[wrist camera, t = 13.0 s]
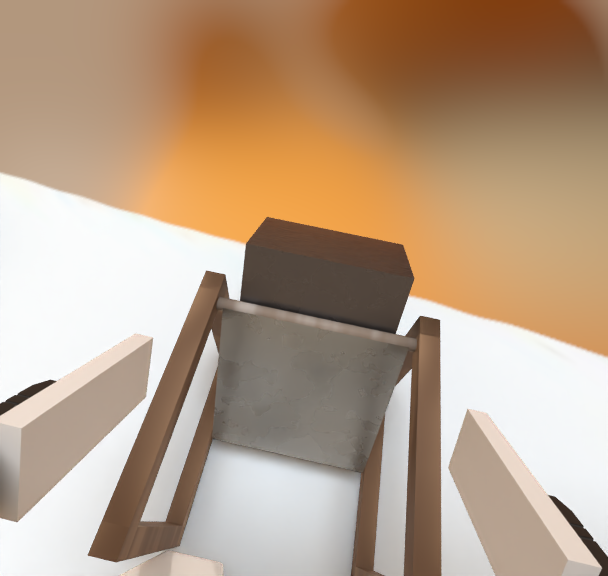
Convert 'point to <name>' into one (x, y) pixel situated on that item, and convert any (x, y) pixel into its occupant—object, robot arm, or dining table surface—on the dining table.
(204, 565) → the jar
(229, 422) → the trapdoor
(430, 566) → the trapdoor frame
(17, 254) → the dining table surface
